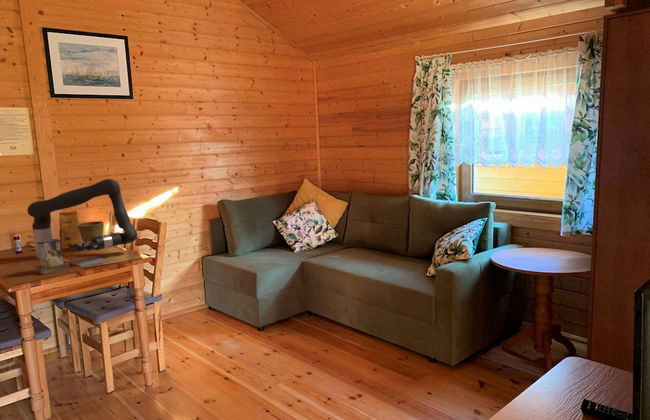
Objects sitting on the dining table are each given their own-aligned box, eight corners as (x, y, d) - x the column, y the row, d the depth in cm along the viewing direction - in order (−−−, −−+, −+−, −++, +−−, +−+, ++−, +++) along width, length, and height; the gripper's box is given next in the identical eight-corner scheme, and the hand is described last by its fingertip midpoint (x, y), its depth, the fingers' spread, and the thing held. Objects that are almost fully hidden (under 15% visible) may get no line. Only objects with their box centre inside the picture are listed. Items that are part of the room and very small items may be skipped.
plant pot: (100, 244, 321) (97, 220, 318) (110, 247, 310) (107, 222, 308) (76, 249, 310) (73, 224, 308) (85, 252, 300) (82, 226, 297)
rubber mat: (69, 263, 275) (69, 262, 275) (96, 257, 287) (95, 256, 286) (81, 267, 266) (81, 266, 266) (108, 261, 277) (108, 259, 277)
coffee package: (60, 244, 327) (56, 211, 323) (81, 241, 332) (77, 209, 329) (60, 246, 318) (56, 213, 314) (81, 244, 324) (77, 211, 320)
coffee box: (58, 267, 267) (54, 238, 265) (64, 268, 264) (61, 239, 261) (41, 271, 260) (37, 242, 257) (47, 273, 256) (43, 243, 254)
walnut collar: (36, 271, 260) (35, 266, 260) (61, 266, 270) (61, 260, 269) (43, 274, 254) (42, 269, 253) (69, 268, 264) (69, 263, 263)
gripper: (95, 234, 285) (66, 240, 273) (107, 237, 276) (77, 243, 263) (97, 247, 286) (68, 253, 274) (108, 250, 277) (79, 256, 265)
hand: (72, 248), depth 269 cm, fingers open, 8 cm apart
